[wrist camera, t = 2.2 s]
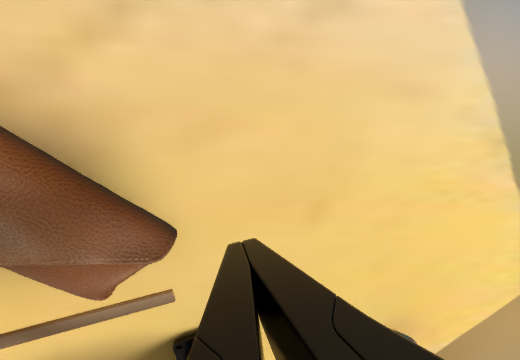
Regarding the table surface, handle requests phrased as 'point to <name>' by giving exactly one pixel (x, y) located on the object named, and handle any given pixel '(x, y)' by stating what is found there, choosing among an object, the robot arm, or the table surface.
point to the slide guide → (85, 319)
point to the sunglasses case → (71, 225)
